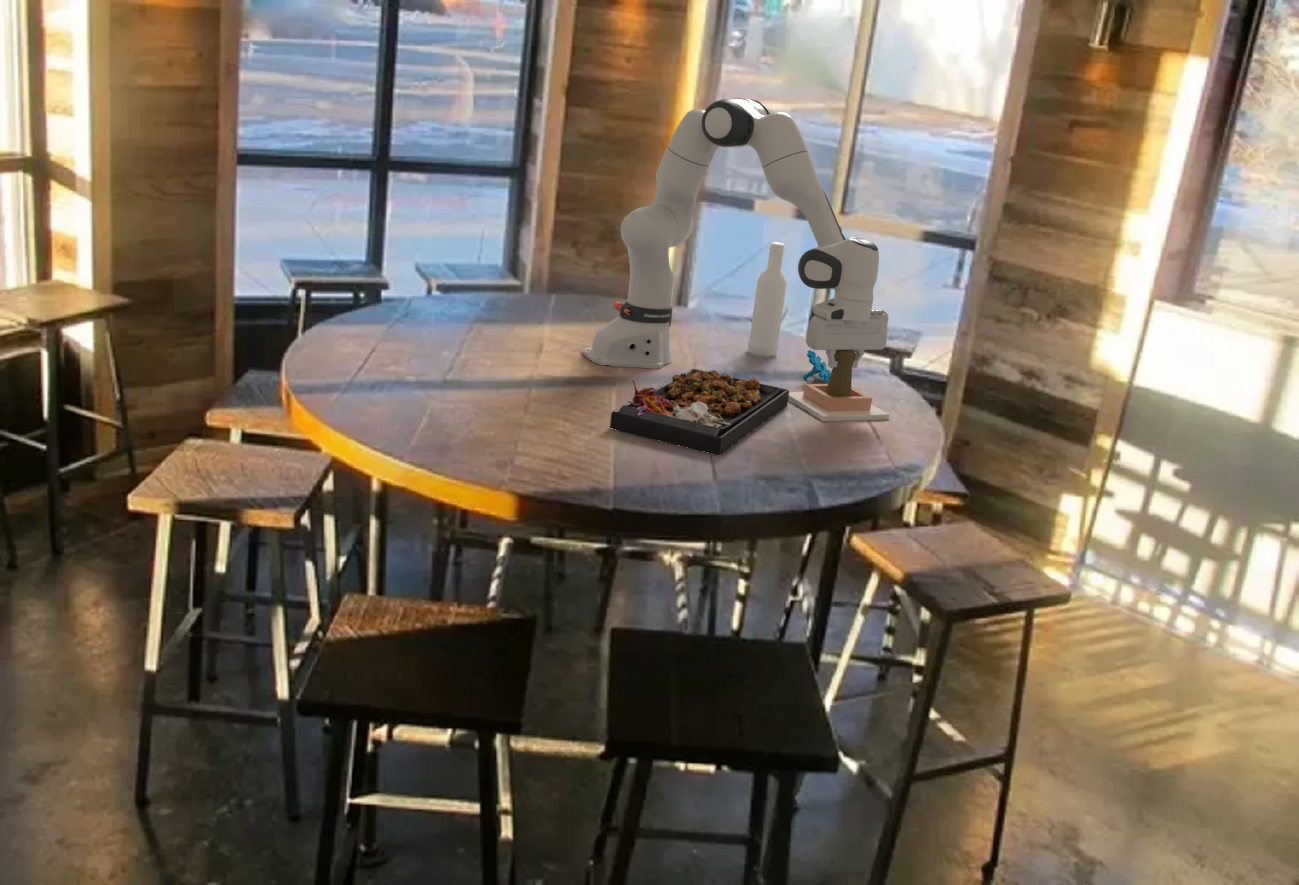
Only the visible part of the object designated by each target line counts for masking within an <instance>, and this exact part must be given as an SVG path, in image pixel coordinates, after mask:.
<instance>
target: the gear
mask: <svg viewBox="0 0 1299 885" xmlns="http://www.w3.org/2000/svg"><path fill="white" fill-rule="evenodd" d="M806 357H807V358H808V363H810V365H812V366H813V367H812V368H811V370H810V371H808V372H807V373H806V374H804V375H803V376H802V377H803V379H804V380H807V379H808V378H810V377H813V376H814V375H816V374H817V376H819V378H820V379H822V380H823V382H824V384H828V382H829V379H830V376H831V371H830V370H828V369H827V367H828V365H827V363H826V361H823V362H822V358H821V356H820V355H818V356H817V352H816V351H815V350H811V349H809V350H807V353H806Z"/></svg>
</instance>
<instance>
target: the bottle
mask: <svg viewBox="0 0 1299 885" xmlns="http://www.w3.org/2000/svg"><path fill="white" fill-rule="evenodd" d="M784 252H785V244H784V243H783V242H777V241H774V242H771V243H770V246H769V252H768V261H767V266H766V267H767V268H766V269H764V270H763V271H762V272H761V273H760V275H759V277H758V279H757V283H756V289H755V296H754V302H753V303H754V304H753V312H752V317H751V318H752V319H751V325H750V334H749V338H748V339H749V340H748V343H747V344H748V346H747V352H748V353H749V354H750V355H753V356H757V357H761V358H762V357H763V358H773V357H776V356H777V353H778V347H779V340H780V339H779V337H780V333H781V332H780V331H781V325H782V320H783V313H784V312H783V311H784V306H785V304H784V303H785V298H786V292H787V285H788V284H787V277H786V275H785V274H784V273H783V271H782V265H783V257H784Z"/></svg>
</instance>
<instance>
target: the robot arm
mask: <svg viewBox="0 0 1299 885" xmlns="http://www.w3.org/2000/svg"><path fill="white" fill-rule="evenodd" d="M720 147H722V148H737V149H738V148H742V147H751V148H753V150H754V151H755V152H756V154H757V156H758V159H759V161H760V165H761V167H762V170H763V174H764V177H765V179H766V182H767V183H768V186H769V187H770V189H771V191H772V193H774V195H775V196H776V197H778V198H779V199H781V200H784V201H785V202H788V203H789V204H791V205H793V206H794V207H796V208H797V209H798V210H800V211H801V212H802V214H803V215H804V217H805V218H806V220H807V223H808V225H809V228H810V229H811V230H810V231H811V232H812V234H813V236H814V239H815V242H816V244H817V247H813V248H811V249H809V250H807V251H806V252H804V253H803V254H802V256H801V257H800V258H799V260H798V265H797V271H798V272H797V273H798V276H799V279H800V280H801V282H802V283H803V284H804V285H805V286H807V287H809V288H811V289H815V290H823V289H824V290H829V289H832V290H833V291H834V297H833V298H830V299H827V300H826V301H823V302H820V303H817V304H815V305H814V306H813V308H812V312H813V314H814V315H813V316H812V317H811V319H810V320H809V323H808V327H807V331H806V335H805V336H806V337H805V343H806V345H807V347H808V348H810V350H811V349H812V350H813V351H825V354H826V356H827V359H828V363H827V367H828V368H830V369H833V368H837V364H838V361H836V360H835V359H834V356H833V354H835V353H836V350H854V351H855V353H856V358H855V361H854V362H853V363H852V369H858V364H859V361H860V360H861V359H862V358H863V356H864V354H865V351H868V350H869V351H873V350H875V351H877V350H878V351H879V350H880V351H881V350H883V349H884V348H885V347H886V346H887V340H888V338H887V337H888V322H889V314H888V313H887V312H886V311H885V310H884V309H883V310H882V309H878V310H877V309H872V308H873V302H874V287H875V285H876V283H877V280H878V279H877V278H878V273H879V265H880V264H879V261H880V253H879V249H878V246H877V245H876V244H875V243H874V242H872V241H870V240H868V239H865V238H862V237H858V236H849V237H847V238H846V237H845V235H844V234H843V231H842V229H841V226H840V225H839V224H840V223H839V222H838V220H837V217H836V214H835V212H834V210H833V208H832V205H831V203H830V201H829V199H828V196H827V194H826V193H825V191H824V189H823V186H822V184H821V182H820V179H819V177H818V174H817V173H816V170H815V167H814V164H813V160H812V158H811V155H810V153H809V150H808V147H807V144H806V143H805V139H804V138H803V136H802V133H801V131H800V129H799V127H798V125H797V124H796V122H795V120H794V119H793V117H792V116H791V115H790V114H788V113H786V112H781V111H775V112H770V109H769V108H768V107H767V106H766V105H765V104H764V103H762V102H761V101H758V100H755V99H749V98H744V97H742V98H741V97H737V98H736V97H735V98H722V99H718V100H717V101H714V102H713V103H711V104H710V105H708V107H706V109H698V108H696V109H691V110H688V111H687V112H686V113H685V115H684V116H683V117H682V119H681V120H680V122H679V124H678V125H677V127H676V129H675V130H674V132H673V134H672V136H671V138H670V140H669V142H668V145H667V147H666V149H665V152H664V153H663V156H662V159H661V161H660V164H659V166H658V169H657V171H656V174H655V180H656V181H655V182H656V190H655V191H656V192H655V197H654V199H653V202H652V203H651V204H650V205H646V206H641V207H638V208H636V209H634V210H632V211H631V212H630V213H628V214H627V215H625V217H624V218H623V220H622V222H621V225H620V236H621V240H622V241H623V243H624V245H625V246H626V248H627V249H626V250H627V254H628V260H629V262H628V263H629V282H628V293H627V294H628V295H627V301H626V300H625V301H626V302H624V303H622V302H620V301H614V303H613V305H612V306H613V308H614V310H616V311H617V312H618V311H619V315H618V316H617V317H615V318H614V319H612V320H611V321H610V322H608V323H607V324H605V325H604V326H602V327H600V328H599V329H598V330H597V331H596V333H595V336H594V338H593V341H592V345H591V347H590V346H588V347H585V348H583V350H582V351H583V352H582V354H583V353H584V354H583V356H584V355H585V356H586V357H587V358H586V357H585V356H584V357H585V358H586V359H588V358H589V359H590V360H589V359H588V360H589V361H591V360H592V361H591V362H593V361H594V362H593V363H595V364H598V365H600V364H603V365H602V366H604V365H612V366H611V367H621V366H622V368H623V367H624V368H647V369H662V368H663V366H665V365H668V364H670V363H671V362H672V357H671V350H670V327H671V324H672V319H673V318H672V317H673V306H672V300H673V293H674V284H675V273H674V272H673V271H672V269H671V265H670V264H671V263H670V255H669V252H670V251H669V250H670V248H674V247H677V246H680V245H681V244H682V243H684V242H685V241H686V240H687V239H689V237H690V236H691V235H692V233H693V232H694V231H693V230H694V224H695V223H694V218H693V214H694V210H695V205H696V200H697V197H698V193H699V190H700V189H701V187H702V184H703V181H704V179H705V177H706V174H707V172H708V169H709V168H710V165H711V163H712V160H713V159H714V158H713V157H714V156H715V154H716V152H717V151H718V149H719V148H720Z"/></svg>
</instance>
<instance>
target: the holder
mask: <svg viewBox="0 0 1299 885" xmlns="http://www.w3.org/2000/svg"><path fill="white" fill-rule="evenodd" d="M827 385H828V383H827V384H826V383H805V384H804V387H803V391H797V392H795V391H793V392H792V391H791V392H790V391H789V397H788V402H791V403H792V404H794V405H796V406H797V405H798V406H797V407H798V408H800V409H802V410H803V411H805V410H806V411H805V412H807V411H808V412H809V414H810V415H812V416H813V417H815V418H816V419H818V420H820V421H821V422H842V421H843V422H845V421H847V422H848V421H851V422H852V421H875V420H879V421H880V420H889V419H890V415H891V414H890V413H889V412H886V411H884V410H883V409H881V408H879V407H877V406H875V405H874V404H872V402H873V397H871V396H870V395H868V394H866V393H864V392H862V391H860V390H858V389H857V388H855V387H853V386H851V396H850V397H835V396H831V395H829V394H827V393H826V389H827ZM808 412H807V413H808Z"/></svg>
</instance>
